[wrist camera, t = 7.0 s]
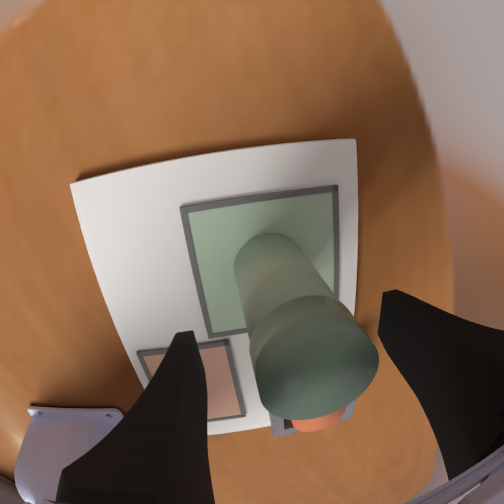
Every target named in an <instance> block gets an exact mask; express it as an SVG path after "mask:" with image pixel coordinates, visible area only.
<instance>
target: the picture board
mask: <svg viewBox="0 0 504 504" xmlns="http://www.w3.org/2000/svg"><path fill="white" fill-rule="evenodd" d="M70 187H71V191H72V195H73V200H74V204H75V207H76V211H77V215H78V219H79V222H80V226H81V230H82V233H83V236H84V240H85V243H86V246H87V250H88V253H89V256H90V259H91V262H92V265H93V268H94V271H95V274H96V277H97V280H98V283H99V285H100V288H101V291H102V294H103V296H104V299H105V302H106V304H107V307H108V309H109V312H110V315H111V317H112V319H113V322H114V324H115V327H116V329H117V332H118V334H119V336H120V339H121V341H122V343H123V345H124V348H125V350H126V352H127V354H128V357H129V359H130V361H131V363H132V365H133V367H134V369H135V371H136V374H137V376H138V378H139V380H140V382H141V384H142V386H143V388H144V390H145V388H146V386H147V385H148V383H149V382H150V380H151V379H152V377H153V375H154V374H155V372H156V370H157V368H158V367H159V365H160V363H161V361H162V359H163V358H164V356H165V354H166V352H167V350H168V348H169V346H170V344H171V342H172V340H173V337H174V335H175V334H176V333H177V332H184V331H191V330H193V331H194V335H195V338H196V342H197V345H198V348H199V352H200V355H201V359H202V362H203V365H204V369H205V374H206V383H207V393H208V415H207V435H214V434H222V433H229V432H236V431H243V430H249V429H255V428H261V427H266V426H271V427H272V431H273V435H274V437H278V436H282V435H287V434H292V433H296V432H301V431H299V430H297V429H296V428H294V426H293V424H292V421H291V420H288V419H283V418H280V417H277V416H275V415H273V414H271V413H270V412H269V411H267V410H266V409H265V408H264V406H263V405H262V403H261V400H260V397H259V392H258V388H257V384H256V379H255V375H254V371H253V366H252V362H251V358H250V353H249V344H250V340H249V336H248V332H247V327H246V323H245V319H244V314H243V310H242V306H241V301H240V297H239V292H238V288H237V283H236V279H235V274H234V262H235V258H236V256H237V254H238V252H239V250H240V249H241V247H242V246H243V245H244V244H245V243H246V242H248V241H249V240H250V239H252V238H254V237H256V236H258V235H261V234H265V233H279V234H283V235H286V236H288V237H290V238H291V239H293V240H294V241H295V242H296V243H297V244H298V246H299V247H300V248H301V250H302V251H303V252H304V254H305V255H306V256H307V258H308V259H309V260H310V262H311V263H312V264H313V266H314V267H315V268H316V270H317V271H318V273H319V274H320V275H321V277H322V278H323V279H324V281H325V282H326V284H327V285H328V286H329V288H330V289H331V290H332V292H333V293H334V295H335V296H336V297H337V299H338V300H339V301H340V302H341V303H343V304H344V305H345V306H346V307H347V308H348V309H349V311H350V312H351V313H352V315H353V316H354V311H355V296H356V279H357V254H358V174H357V150H356V139H352V138H347V139H329V140H315V141H302V142H291V143H281V144H271V145H262V146H254V147H246V148H239V149H231V150H224V151H218V152H211V153H205V154H199V155H193V156H187V157H182V158H176V159H171V160H165V161H160V162H155V163H151V164H146V165H141V166H136V167H132V168H127V169H123V170H119V171H115V172H110V173H106V174H102V175H98V176H94V177H90V178H87V179H83V180H79V181H75V182H73V183H71V184H70ZM355 401H356V399H355V400H354V401H353V402H351V403H350V404H348V405H347V406H345V407H346V409H345V412H344V414H343V416H342V417H341V418H340V419H339V420H338V421H337V422H339V421H342V420H346V419H349V418H352V416H353V411H354V406H355Z"/></svg>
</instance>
